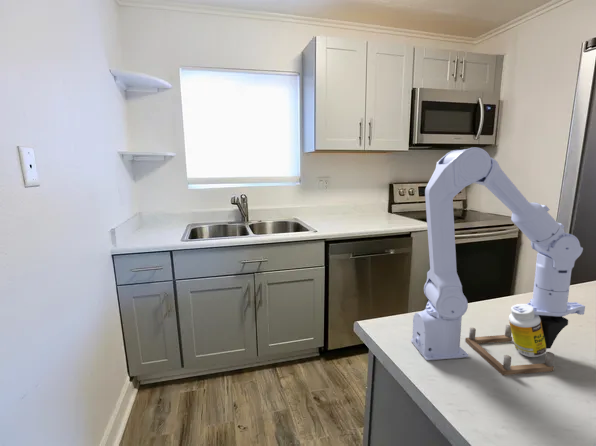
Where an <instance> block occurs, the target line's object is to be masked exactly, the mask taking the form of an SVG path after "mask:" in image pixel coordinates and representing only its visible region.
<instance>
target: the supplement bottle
mask: <svg viewBox="0 0 596 446" xmlns="http://www.w3.org/2000/svg"><path fill="white" fill-rule="evenodd" d="M517 306H519V307H518V308H524V309H522V310H527V311H524V312H521V313H520V312H518V311H516V310H514V309H513V307H517ZM510 311H511V313H510V314H509V316H508V321H509V325H510V327H511V331H512V333H511V336H512V341H513V344H514V347H515V350H516V351H517V352H518V353H519V354H521V355H523V356H525V357H529V358H538V357H541V356H544V355H546V352H547V349H546V343H545V338H544V334H543V329H542V324H541V319H540V317H539V316H538V315H535V314H534V309H533V307H532V306H531V305H528V304H527V303H517V304H513V305H511V307H510ZM519 318H520V319H519Z"/></svg>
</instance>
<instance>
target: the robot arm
mask: <svg viewBox="0 0 596 446" xmlns="http://www.w3.org/2000/svg"><path fill="white" fill-rule="evenodd" d="M472 184H477V185H481V186H484V187H485V188H486V189H488V191H490V192H491V193H492V194H493V195H494V196H495V197H496V198H497V199H498V200H499V201H500V202H501V203H502V204H503V205H504V206H505V207H506V208H508V209H509V210H510V212H511V217H510V219H511V222H513V224H514V225H515V226H516V228H518V229H519V230H520V231H521V232H522V234H523V235H525V237H526V238H527V239H528V240H529V241H530V247H531V248H532V250H534V251H535V252H536V259H535V260H536V263H535V273H534V282H533V291H532V298H531V299H530V298H529V302H527V303H526V304H528V305H531V306H532V307H533V309H534V314H535V315H538V316H539V317H540V319H541V324H542V329H543V334H544V338H545V343H546V349H548V350H549V349H551V348H552V346H553V344H554V343H555V340H556V339H557V337H558V335H559V334H560V333H561V331H562V330H563V329H564V328H565V327H566V326H568V325H569V319H568V318H566V317H565V316H568V315H572V314H577V315H582V316H583V315H584V314H585V309H586V306H585V305H584V304H581V303H579V302H576V301H574V302H572V301H571V302H569V301H568V300H569V295H570V286H571V280H572V279H571V277H572V271H573V268H574V267H575V263H576V261H577V260H578V258H579V257H580V256H581V255H582V253H583V250H584V248H583V247H582V246H581V243H580V241H579V239H578V237H577V236H575V235H574V234H572V233H568V232H565V229H564V228H565V225H564V224H563V223H561V222H558V221H557V220H556V219H555V218H554V217H553V216H552V215H551V214H550V213H549V211H550V208H549V207H548V206H547V204H546V205H545V204H541V203H539V202H536V201H535V202H532V201H531V202H530V201H528V200H527V198H526V197H525V195H523V193H522V192H521V191H520V190H519V189H518V187H517V186H516V185H515V184H514V183H513V181H512V180H511V179H510V178H509V177H508V175H507V174H506V173H505V172H504V171H503V170H502V168H501V166H500V164H499V162H498V161H497V160H496V159H495V158H493V157H491V156H490V154H489V153H488V152H487V151H486V150H485V149H484V148H480V147H473V146H472V147H470V148H464V149H453V150H450V151H449V152H447V153H445V155H443V156H441V158H440V159H438V161H436V165H435V169H434V170H433V173H432V175H431V177H430V178H429V181H428V182H427V185H426V187H425V189H424V199H425V200H424V201H425V213H426V226H427V241H428V255H429V270H428V271H427V272H426V282H425V283H424V285H423V292H424V293H423V294H424V295H425V297H426V298H427V300H428V301H427V303H426V305H425V309H423V310H422V311H419V312H416V313H414V315H413V318H412V338H411V339H410V341H411V343H412V344H413V345H414V346H415V348H416V349H417V351H418V352H419V353H420V354H421V355H422V357H423V358H424V359H425V360H426V361H436V360H446V359H447V360H450V359H461V358H469V353H468V352H466V351H465V350H464V349H463V348H462V347H461V336H462V335H461V332H462V318H463V316H464V315H465V314H466V312H467V310H468V306H469V304H468V299H467V297H466V296H465V295H464V293H463V285H462V282H461V280H460V277H459V275H458V272H457V271H458V269H457V268H458V267H457V252H456V238H455V237H456V234H455V233H456V232H455V231H456V230H455V217H454V215H455V214H454V201H453V200H454V198H455V196H457V195H458V194H460V193H461V191H462V190H464V188H466V187H468V186H470V185H472ZM518 307H519V306H517V307H513V309H514V310H516V311H518V312H520V313H521V312H524V311H527V310H522V309H524V308H518ZM519 319H520V318H519Z"/></svg>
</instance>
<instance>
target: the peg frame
mask: <svg viewBox="0 0 596 446" xmlns="http://www.w3.org/2000/svg"><path fill="white" fill-rule="evenodd" d="M504 331H505V332H504V334H499V335H488V336H487V335H484V336H476V328H475V327H469V335H468V337H465V339H464V342H465V343H466V344H467V345H468V346H469V347H470V348H472V349H473V351H475V352H476V353H477V354H478V355H480V356H481V358H483V359H484V360H485V361H486V362H487V363H488V364H490V366H492V367H493V368H494V369H495V370H496V371H498V372H499V374H501V375H502V376H510V375H522V374H525V375H526V374H535V373H536V374H538V373H546V372H547V373H548V372H554V369H555V366H554V357H555V356H554V355H555V354H554V353H553V352H550V351H546V353H545V359H544V362H543V363H532V364H530V363H529V364H518V365H512V356H510V355H508V354H504V355H503V362H502V363H503V364H502V363H501V362H500V361H499V360H498V359H497V358H495V357H494V356H493V355H492V354H490V352H488V351H487V350H486V349H485V348H483V347H482V346H481V344H494V343H506V342H513V336H512V331H511V327H510V324H506V325H505V330H504Z"/></svg>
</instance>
